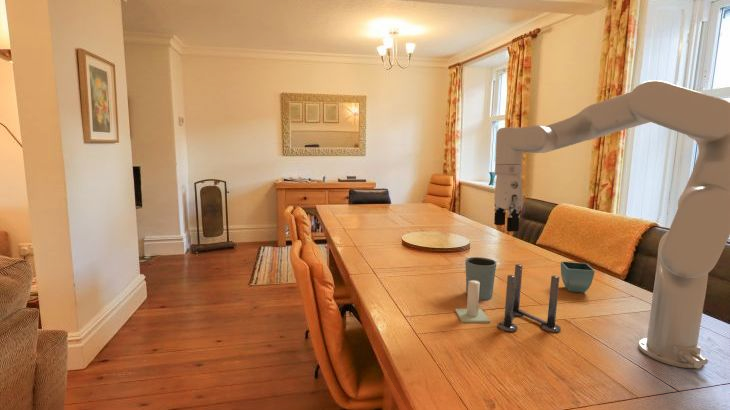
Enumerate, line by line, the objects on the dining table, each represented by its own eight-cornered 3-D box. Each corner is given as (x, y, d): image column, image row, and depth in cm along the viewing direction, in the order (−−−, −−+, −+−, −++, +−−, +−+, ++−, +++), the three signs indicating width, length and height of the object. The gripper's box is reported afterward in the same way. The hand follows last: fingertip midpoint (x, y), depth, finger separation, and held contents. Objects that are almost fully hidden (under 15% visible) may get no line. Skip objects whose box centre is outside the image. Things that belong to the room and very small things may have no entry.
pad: (489, 322, 110) (489, 320, 110) (461, 322, 110) (461, 320, 110) (481, 310, 118) (481, 309, 118) (455, 310, 118) (455, 308, 118)
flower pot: (593, 295, 132) (595, 270, 131) (565, 293, 134) (567, 268, 132) (584, 286, 140) (586, 263, 139) (557, 284, 142) (560, 261, 141)
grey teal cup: (473, 302, 125) (475, 266, 123) (457, 290, 134) (459, 257, 133) (500, 299, 127) (503, 264, 126) (483, 288, 137) (485, 255, 135)
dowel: (479, 317, 112) (481, 284, 111) (468, 316, 112) (470, 284, 111) (476, 312, 116) (477, 280, 114) (465, 312, 116) (467, 280, 114)
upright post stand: (564, 332, 105) (569, 280, 103) (501, 332, 105) (505, 279, 102) (539, 309, 120) (543, 263, 117) (484, 309, 120) (487, 262, 117)
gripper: (535, 171, 104) (531, 233, 107) (509, 169, 121) (506, 222, 124) (507, 172, 104) (504, 234, 106) (485, 169, 121) (483, 222, 123)
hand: (505, 227), depth 115 cm, fingers open, 9 cm apart
